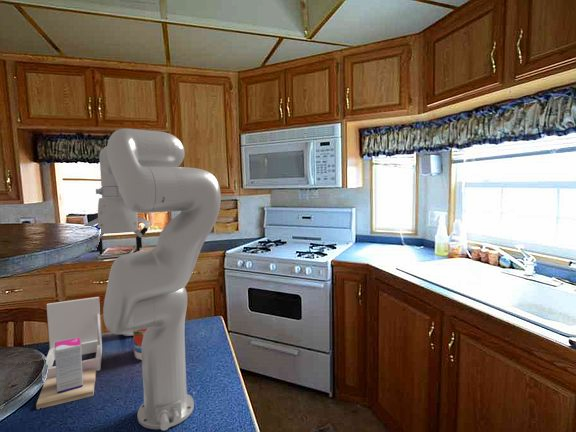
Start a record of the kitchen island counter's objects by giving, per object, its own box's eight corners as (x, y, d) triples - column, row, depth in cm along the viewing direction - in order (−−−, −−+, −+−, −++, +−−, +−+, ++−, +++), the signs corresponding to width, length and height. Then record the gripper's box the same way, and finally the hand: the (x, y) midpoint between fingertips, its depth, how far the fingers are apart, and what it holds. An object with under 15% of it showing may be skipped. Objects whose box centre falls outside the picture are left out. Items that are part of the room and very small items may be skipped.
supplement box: (84, 386, 90) (81, 344, 89) (56, 394, 87) (53, 351, 86) (82, 376, 95) (79, 336, 94) (56, 383, 92) (53, 342, 91)
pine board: (93, 395, 89) (93, 391, 88) (36, 409, 83) (36, 404, 83) (96, 372, 99) (95, 368, 99) (45, 383, 94) (45, 379, 94)
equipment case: (100, 371, 100) (96, 312, 98) (41, 384, 94) (36, 322, 92) (102, 348, 114) (98, 296, 112) (51, 358, 108) (47, 303, 106)
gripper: (80, 193, 91) (84, 257, 93) (150, 192, 99) (153, 251, 101) (82, 193, 98) (86, 252, 100) (148, 191, 106) (150, 247, 107)
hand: (120, 251), depth 100 cm, fingers open, 9 cm apart
